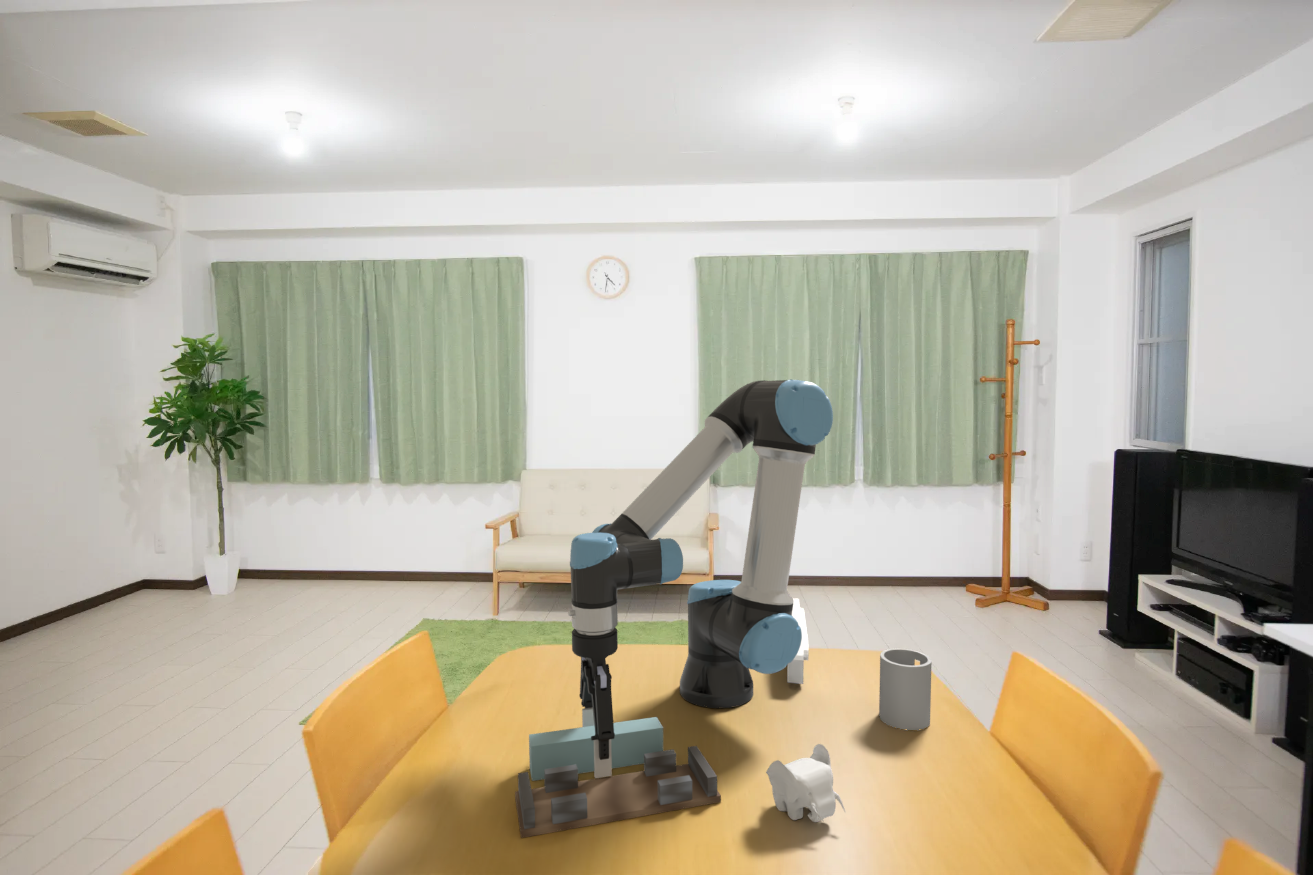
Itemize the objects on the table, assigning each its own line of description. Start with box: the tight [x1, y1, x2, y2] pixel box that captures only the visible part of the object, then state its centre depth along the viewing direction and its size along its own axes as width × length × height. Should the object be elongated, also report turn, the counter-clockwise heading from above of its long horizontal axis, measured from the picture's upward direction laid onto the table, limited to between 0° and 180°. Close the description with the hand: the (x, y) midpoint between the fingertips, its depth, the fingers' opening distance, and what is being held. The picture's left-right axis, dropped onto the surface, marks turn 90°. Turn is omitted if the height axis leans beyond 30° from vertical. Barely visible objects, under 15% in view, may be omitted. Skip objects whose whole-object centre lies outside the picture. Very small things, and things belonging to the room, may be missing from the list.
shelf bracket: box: [786, 597, 810, 685], centre depth 158 cm, size 6×25×13 cm, turn 169°
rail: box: [528, 716, 664, 782], centre depth 118 cm, size 22×4×6 cm, turn 106°
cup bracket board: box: [514, 745, 722, 839], centre depth 107 cm, size 30×10×4 cm, turn 106°
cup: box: [878, 647, 932, 731], centre depth 133 cm, size 9×9×12 cm
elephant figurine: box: [765, 743, 846, 823], centre depth 104 cm, size 10×12×9 cm
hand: (596, 759), depth 117 cm, fingers open, 10 cm apart
